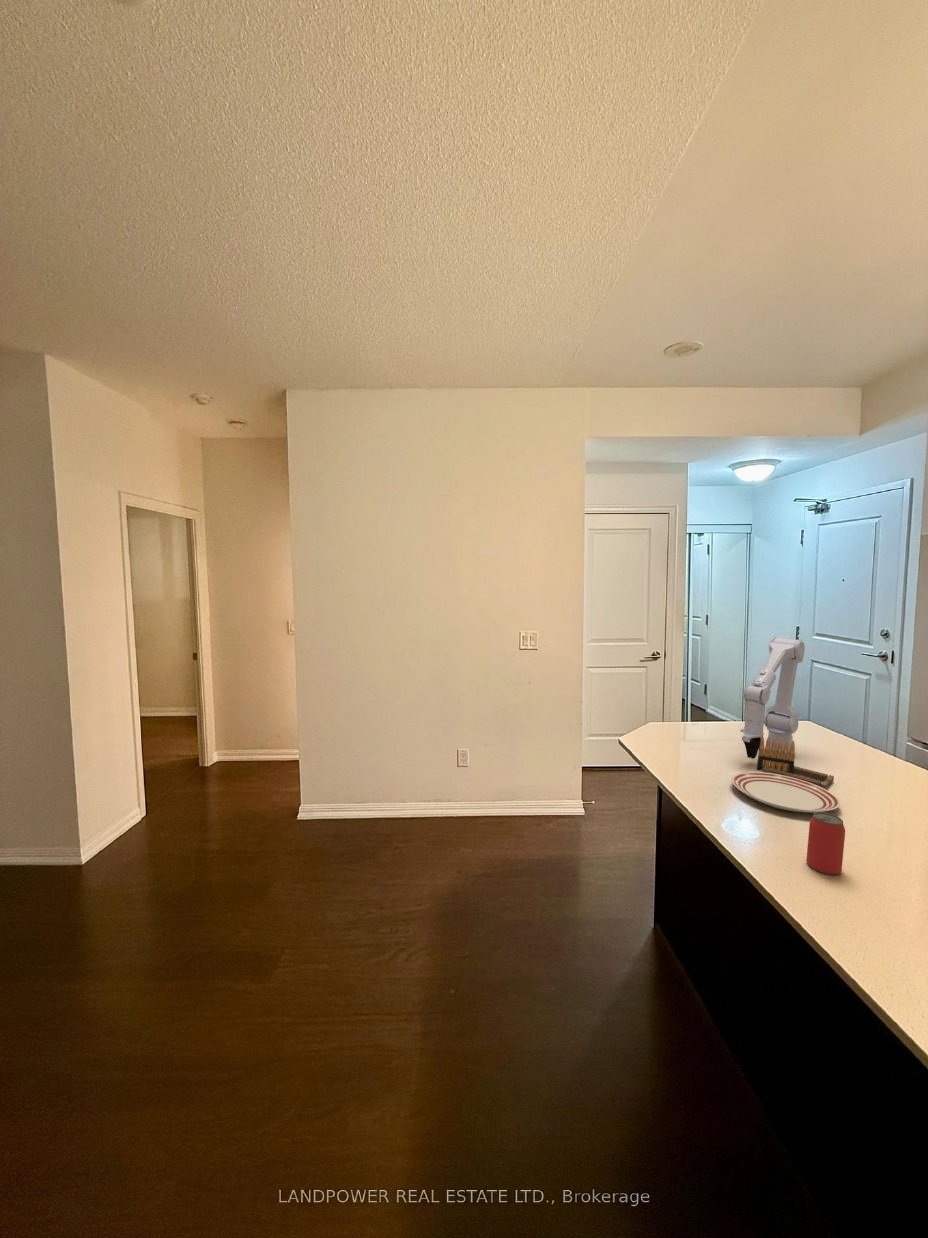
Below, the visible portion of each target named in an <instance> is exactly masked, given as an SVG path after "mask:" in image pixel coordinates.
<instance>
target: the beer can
mask: <svg viewBox="0 0 928 1238" xmlns="http://www.w3.org/2000/svg"><path fill="white" fill-rule="evenodd" d="M808 824H809V826H808V837H807V850H806V858H805V860H806V863H807V865H808V866H809V867H811V868H812V869H814V870H815V871H817V872H818V873H822V874H826V875H832V876H833V875H834V876H836V875H839V874H841V873H842V869H843V863H844V861H843V859H844V849H845V838H846V827H845V825H844V821H843V819H842V818H840V817H839V816H838V815H835V814H832V813H830V812H813V814H812V817H811V818H810V821H809V823H808Z"/></svg>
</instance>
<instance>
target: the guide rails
mask: <svg viewBox="0 0 928 1238" xmlns="http://www.w3.org/2000/svg"><path fill="white" fill-rule="evenodd" d="M769 767H770V766H769ZM769 767H764V768H762V771H761V772H765V773H773V774H779V775H784V776H789V777H793V778H797V779H800V780H803V781H806V782H809V783H812V784H815V785H817V786H820V787H822V788H824V789H826V790H829V788H830V787H831V786H832V784H833V783H834V780H835V776H834V775H832V774H831V775H830V774H827V773H823V772H819V771H815V770H812V769H808V768H803V767H800V766H796V765H794V774H791V773H787V772H784V771H780V770H776V769H772V768H769ZM775 768H776V766H775ZM781 769H782V767H781Z"/></svg>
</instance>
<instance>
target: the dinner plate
mask: <svg viewBox="0 0 928 1238" xmlns="http://www.w3.org/2000/svg"><path fill="white" fill-rule="evenodd" d="M730 781H731V783H732V785H733V786H734V787H735V788H736V789H738V790H739V792H741V793H743V794H744V795H745V796H747V797H749V798H750V799H753V800H755V801H757V802H759V803H762V804H764V805H766V806H769V807H772V808H775V809H779V810H783V811H786V812H787V811H788V812H793V813H794V812H796V813H811V814H812V813H815V812H824V813H827V812H830V811H833V810H836V809H837V808H839V807H840V806H841V801H840V799H839V798H838V797H837V796H836V795H835V794H834V793H832V792H831V791H830V790H829V789H827V790H826V789H824V788H822V787H820V786H817V785H815V784H812V783H809V782H806V781H803V780H800V779H797V778H793V777H789V776H784V775H779V774H773V773H765V772H762V771H744V772H739V773H736V774H734V775H732V777H731V779H730Z"/></svg>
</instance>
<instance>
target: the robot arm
mask: <svg viewBox="0 0 928 1238" xmlns="http://www.w3.org/2000/svg"><path fill="white" fill-rule="evenodd" d="M805 650H806V646H805V644H804V642H803V640H802V639H793V638H784V637H777V636H773V637H771V639H770V640H769V643H768V651H769V655H768V658H767V660H766V663H765V665H764V668H761V669H759V670H758V671H757V674H756V675H755V677H754V678H753V680H752V682H751V684H749V685H747V686H746V687H745V688H744V690H743V693H742V696H743V699H744V706H745V715H744V727H743V728H741V729H740V730H739V731H740V733H743V734H742V738H741V740H742V742H743V744H744V747H745V751H746V756H747V758H749V759H755V758H756V757H757V756H758V753H759V746H760V740H761V737H762V736H763V737H764V735H765V733H764V728H765V727H766V730H767V731H768V734H767V738H768V737H769V738H770V756H771V748H772V743H773V739H774V738H776V750H777V749H778V744H779V740H780V739H782V750H784V745H785V741H786V740H788V744H789V747H788V748H789V752H790V747H791V743H792V741H793V734H795V733H797V730H798V728H799V713H797V711H796V710H794V708H793V707H792V702H793V701H792V700H793V693H794V687H795V683H796V682H795V681H796V676H797V670H798V666H799V665H798V664H799V663H803V660H804V655H805ZM779 667H780V672H779V677H778V684H777V689H776V696H775V703H774V704H772V705H770V706H768V707H767V708H766V704H767V703H768V701H770V696H771V692H772V691H771V688H772V687H773V684H774V683H775V681H776V679H777V675H776V672H777V671H778V669H779ZM764 754H765V751H764ZM776 757H777V752H776ZM782 758H783V754H782ZM788 759H789V757H788Z"/></svg>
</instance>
